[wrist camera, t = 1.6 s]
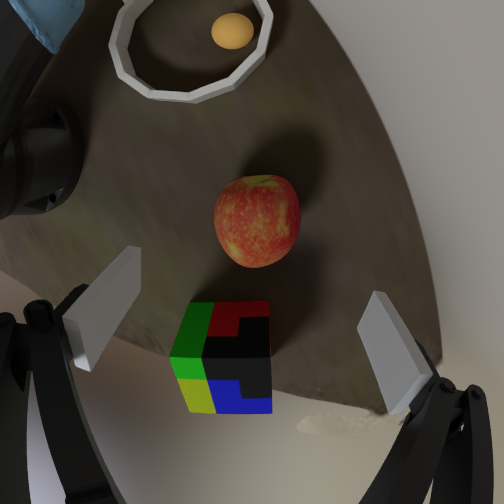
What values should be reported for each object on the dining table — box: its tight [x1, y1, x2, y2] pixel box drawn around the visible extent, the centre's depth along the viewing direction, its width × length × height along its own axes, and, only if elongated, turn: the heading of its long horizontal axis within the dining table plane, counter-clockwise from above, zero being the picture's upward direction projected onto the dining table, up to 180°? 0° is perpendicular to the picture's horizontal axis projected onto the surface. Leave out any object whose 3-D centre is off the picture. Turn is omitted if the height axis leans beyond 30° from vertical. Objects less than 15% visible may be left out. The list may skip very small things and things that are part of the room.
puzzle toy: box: [169, 300, 272, 414], centre depth 33 cm, size 10×10×10 cm
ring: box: [109, 0, 273, 104], centre depth 21 cm, size 16×16×3 cm
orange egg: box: [212, 13, 254, 49], centre depth 21 cm, size 4×4×4 cm
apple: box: [214, 175, 301, 268], centre depth 27 cm, size 8×8×8 cm
